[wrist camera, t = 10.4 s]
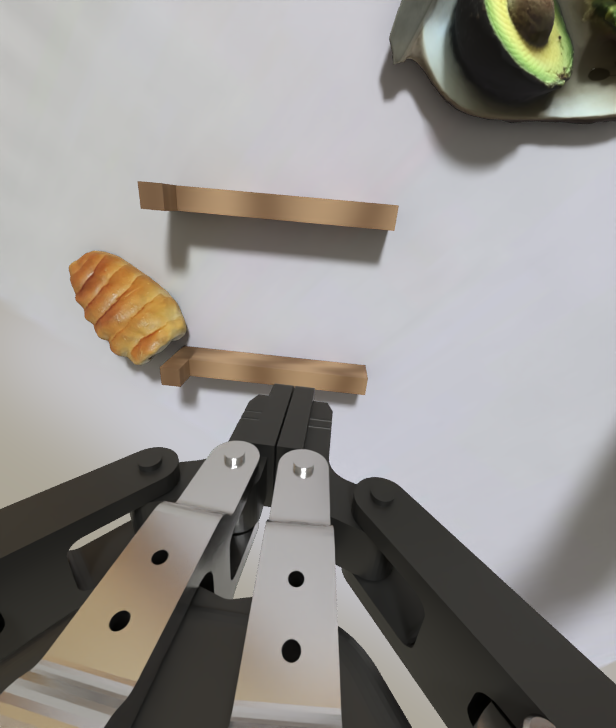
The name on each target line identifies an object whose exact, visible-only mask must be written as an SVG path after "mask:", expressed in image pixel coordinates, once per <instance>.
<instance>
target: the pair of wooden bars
mask: <svg viewBox="0 0 616 728" xmlns="http://www.w3.org/2000/svg"><path fill="white" fill-rule="evenodd" d="M138 189H139V197H140V206H141V209H151V210H161V211H187V212H198V213H208V214H219V215H230V216H241V217H251V218H262V219H273V220H284V221H295V222H305V223H316V224H327V225H338V226H349V227H359V228H370V229H381V230H392V231H394V229H395V224H396V218H397V212H398V207H399V206H398V205H387V204H376V203H365V202H354V201H343V200H332V199H321V198H310V197H299V196H287V195H276V194H265V193H254V192H243V191H232V190H221V189H210V188H199V187H187V186H176V185H169V184H163V183H152V182H141V181H138ZM160 374H161V383H162V385H169V386H178V387H181V386H182V385H183V383H184V382H185V381H186V380H187V379H188V378H189V377H190V376H197V377H206V378H215V379H224V380H233V381H243V382H252V383H261V384H270V385H274V384H275V383H276V384H285V385H293V386H294V387H295V386H302V387H310V388H315V390H324V391H333V392H342V393H351V394H361V395H365V391H366V386H367V380H368V377H367V372H366V367H365V365H357V364H347V363H338V362H329V361H319V360H310V359H301V358H291V357H282V356H272V355H263V354H254V353H244V352H235V351H226V350H216V349H207V348H198V347H188V346H183V347H182V348H181V349H180V350H179V351H177V352H176V353H175V354H174V355H173V356H172V357H171V358H170V359H169V360H167V361H166V362H165V363H164V364H163V365H162V366H161V367H160Z"/></svg>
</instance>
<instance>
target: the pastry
mask: <svg viewBox="0 0 616 728" xmlns="http://www.w3.org/2000/svg"><path fill="white" fill-rule="evenodd" d="M69 272H70V276H71V277H70V281H71V284H72V287H73V289H74V291H75V294H76V297H75V298H76V301H77V302H78V303H79V304H80V305H81V306H82V307H83V309H84V311H85V318H86V320H88V321H89V322H91V323H92V324H93V325H94V329H95V331H96V333H97V335H98V337H99V338H101V339H103V340H107V341H109V343H110V349H111V351H112V352H113V353H115V354H116V355H118V356H126V357H128V358H129V359H130V360H131V361H132V362H133V363H134V364H136V365H143V364H146V363H147V362H149V361H150V360H151V359H152V358H153V357H154V355H155V354H158V353H160V352H162V351H163V350H164V349H165V348H166V347H167V346H168V345H169V344H170V342H171V341H176V340H179V339H180V338H181V337H182V336H184V335H185V333H186V330H187V329H186V324H185V320H184V318H183V315H182V313H181V310H180V308H179V306H178V303H177V302H176V301H175V300H174V299H173V298H172V297H171V296H170V294H169V293H168V292H167V291H166V290H165V289H163V288H162V287H161V286H160V285H159V284H158V283H156V282H155V281H153V280H152V279H151V278H150V277H149V276H147V275H145V274H144V273H142V272H141V271H140V270H138V269H137V268H135V267H134V266H133V265H131V264H130V263H128V262H127V261H125V260H123V259H122V258H120V257H118V256H116V255H113V254H110V253H107V252H102V251H91V252H89V253H86V254H85V255H83V256H82V257H81V258H79V259H78V260H77V261H74V262H73V263H72V264H71V265H70V266H69Z"/></svg>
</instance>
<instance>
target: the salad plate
mask: <svg viewBox="0 0 616 728" xmlns="http://www.w3.org/2000/svg"><path fill="white" fill-rule="evenodd" d="M389 40H390V44H391V49H392V54H393V56H392V57H393V64H397V63H400V62H404V61H405V60H406V59H413V60H414V61H415V62H417V63H418V64H419V65H420V67H421V68H422V69H423V70H424V72H425V73H426V75H427V76H428V78H429V79H430V81H431V83H432V84H433V85H434V87H435V88H436V89H437V91H438V92H439V93H440V94H441V95H442V97H443V98H444V99H445V100H446V101H447V102H448V103H450V104H451V105H452V106H453V107H454V108H456V109H457V110H459V111H461V112H463V113H466V114H468V115H472V116H476V117H480V118H484V119H498V120H503V121H507V122H510V123H515V122H529V121H541V122H567V123H580V124H590V123H595V122H606V121H615V120H616V0H402V1H401V4H400V7H399V9H398V11H397V15H396V18H395V21H394V24H393V27H392V30H391V33H390V38H389ZM594 68H595V69H594Z"/></svg>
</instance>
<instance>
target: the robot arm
mask: <svg viewBox="0 0 616 728" xmlns="http://www.w3.org/2000/svg"><path fill="white" fill-rule="evenodd" d="M314 396H315V388H310V387H302V386H295V388H294V386H293V385H285V384H276V383H275V384H274V386H273V388H272V390H271V393H270V395H269V396H265V395H258V396H256V397H255V398H253V399H252V400H251V401H249V403H248V405H247V407H246V409H245V412H244V413H243V415H242V416H241V419H240V420H239V422H238V424H237V426H236V428H235V430H234V432H233V434H232V436H231V437H230V439H229V441H228V442H225V443H223V444H220V445H219V446H217V447H216V448H215V449H213V451H212V452H211V453H210V454H209V456H208V458H207V459H203V460H197V461H188V462H179V459H178V456H177V454H176V453H175V452H174V451H172V450H171V449H168V448H163V447H154V448H148V449H144V450H142V451H139V452H137V453H134V454H132V455H129V456H127V457H125V458H122V459H120V460H118V461H115V462H113V463H110V464H108V465H105V466H103V467H101V468H98V469H96V470H94V471H91V472H89V473H86V474H84V475H81V476H79V477H77V478H74V479H72V480H69V481H67V482H65V483H62V484H60V485H57V486H55V487H52V488H50V489H48V490H45V491H43V492H40V493H38V494H36V495H33V496H31V497H29V498H26V499H24V500H21V501H19V502H16V503H14V504H12V505H9V506H7V507H4V508H2V509H0V728H412V727H411V725H410V723H409V722H408V720H407V718H406V716H405V715H404V713H403V711H402V710H401V708H400V706H399V705H398V703H397V701H396V700H395V698H394V696H393V694H392V693H391V691H390V690H389V688H388V686H387V684H386V682H385V681H384V680H383V677H382V676H381V674H380V673H379V671H378V669H377V667H376V666H375V664H374V663H373V661H372V660H371V658H370V657H369V656H368V654H367V653H366V652H365V650H364V649H363V648H362V647H361V646H360V645H359V644H358V643H357V642H356V640H354V638H353V637H351V636H350V635H349V634H348V633H346V632H345V631H344V630H343V629H342V628H340V627H339V626H338V620H337V594H336V571H335V569H336V568H335V564H336V565H338V566H339V567H341V568H342V573H343V575H344V578H345V579H346V581H347V582H348V584H349V585H350V587H351V588H352V590H353V591H354V592H355V594H356V595H357V597H358V598H359V600H360V601H361V603H362V604H363V606H364V607H365V609H366V610H367V611H368V613H369V614H370V616H371V617H372V619H373V620H374V622H375V623H376V625H377V626H378V627H379V629H380V630H381V632H382V633H383V635H384V636H385V638H386V639H387V640H388V642H389V643H390V645H391V646H392V648H393V649H394V651H395V652H396V653H397V655H398V656H399V658H400V659H401V661H402V662H403V663H404V665H405V667H406V668H407V669H408V671H409V672H410V674H411V675H412V677H413V678H414V680H415V681H416V682H417V684H418V685H419V687H420V688H421V690H422V691H423V693H424V694H425V695H426V697H427V698H428V700H429V701H430V703H431V704H432V706H433V707H434V709H435V710H436V711H437V713H438V714H439V716H440V717H441V719H442V720H443V722H444V723H445V724H446V726H447V727H448V728H616V684H615V683H614V682H613V681H612V680H610V679H609V678H608V677H607V676H606V675H605V674H604V673H603V672H602V671H601V670H600V669H598V668H597V667H596V666H595V665H594V664H593V663H592V662H591V661H590V660H589V659H588V658H586V657H585V656H584V655H583V654H582V653H581V652H580V651H579V650H578V649H577V648H576V647H574V646H573V645H572V644H571V643H570V642H569V641H568V640H567V639H566V638H565V637H564V636H562V635H561V634H560V633H559V632H558V631H557V630H556V629H555V628H554V627H553V626H552V625H550V624H549V623H548V622H547V621H546V620H545V619H544V618H543V617H542V616H541V615H540V614H538V613H537V612H536V611H535V610H534V609H533V608H532V607H531V606H530V605H529V604H528V603H526V602H525V601H524V600H523V599H522V598H521V597H520V596H519V595H518V594H517V593H516V592H515V591H513V590H512V589H511V588H510V587H509V586H508V585H507V584H506V583H505V582H504V581H503V580H501V579H500V578H499V577H498V576H497V575H496V574H495V573H494V572H493V571H492V570H491V569H489V568H488V567H487V566H486V565H485V564H484V563H483V562H482V561H481V560H480V559H479V558H477V557H476V556H475V555H474V554H473V553H472V552H471V551H470V550H469V549H468V548H467V547H465V546H464V545H463V544H462V543H461V542H460V541H459V540H458V539H457V538H456V537H455V536H453V535H452V534H451V533H450V532H449V531H448V530H447V529H446V528H445V527H444V526H443V525H441V524H440V523H439V522H438V521H437V520H436V519H435V518H434V517H433V516H432V515H431V514H429V513H428V512H427V511H426V510H425V509H424V508H423V507H422V506H421V505H420V504H419V503H417V502H416V501H415V500H414V499H413V498H412V497H411V496H410V495H409V494H408V493H407V492H405V491H404V490H403V489H402V488H401V487H400V486H399V485H397V484H396V483H394V482H392V481H390V480H387V479H384V478H379V477H371V478H366V479H363V480H362V481H360V482H359V483H358V484H354V483H352V482H349V481H347V480H345V479H343V478H341V477H340V476H339V475H337V474H336V473H335V472H334V471H333V469H332V468H331V466H330V463H329V450H330V438H331V425H332V413H333V411H332V410H331V408H330V406H329V405H328V403H324V402H316V401H314ZM263 506H268V507H271V511H270V517H269V520H267V521H266V526H265V531H264V536H263V542H262V548H261V553H260V558H259V564H258V570H257V575H256V581H255V587H254V592H253V597H250V598H240V599H233V597H234V593H235V589H236V586H237V583H238V581H239V578H240V576H241V573H242V570H243V568H244V565H245V562H246V560H247V557H248V555H249V551H250V549H251V546H252V544H253V541H254V539H255V536H256V533H257V531H258V526H259V519H260V516H261V512H262V509H263ZM127 513H130V516H131V520H130V521H129V522H127V523H125V524H123V525H122V526H119V527H118V528H116V529H114V530H112V531H110V532H108V533H106V534H104V535H103V536H101V537H99V538H97V539H95V540H94V541H91V542H90V543H88V544H86V545H84V546H82V547H81V548H78V549H75V550H70V551H69V549H70V547H71V546H72V545H73V544H74V543H75V542H76V541H77V540H79V539H80V538H82V537H84V536H86V535H88V534H89V533H91V532H93V531H95V530H97V529H99V528H100V527H103V526H105V525H106V524H109V523H110V522H112V521H114V520H116V519H118V518H120V517H122V516H124V515H125V514H127Z"/></svg>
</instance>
